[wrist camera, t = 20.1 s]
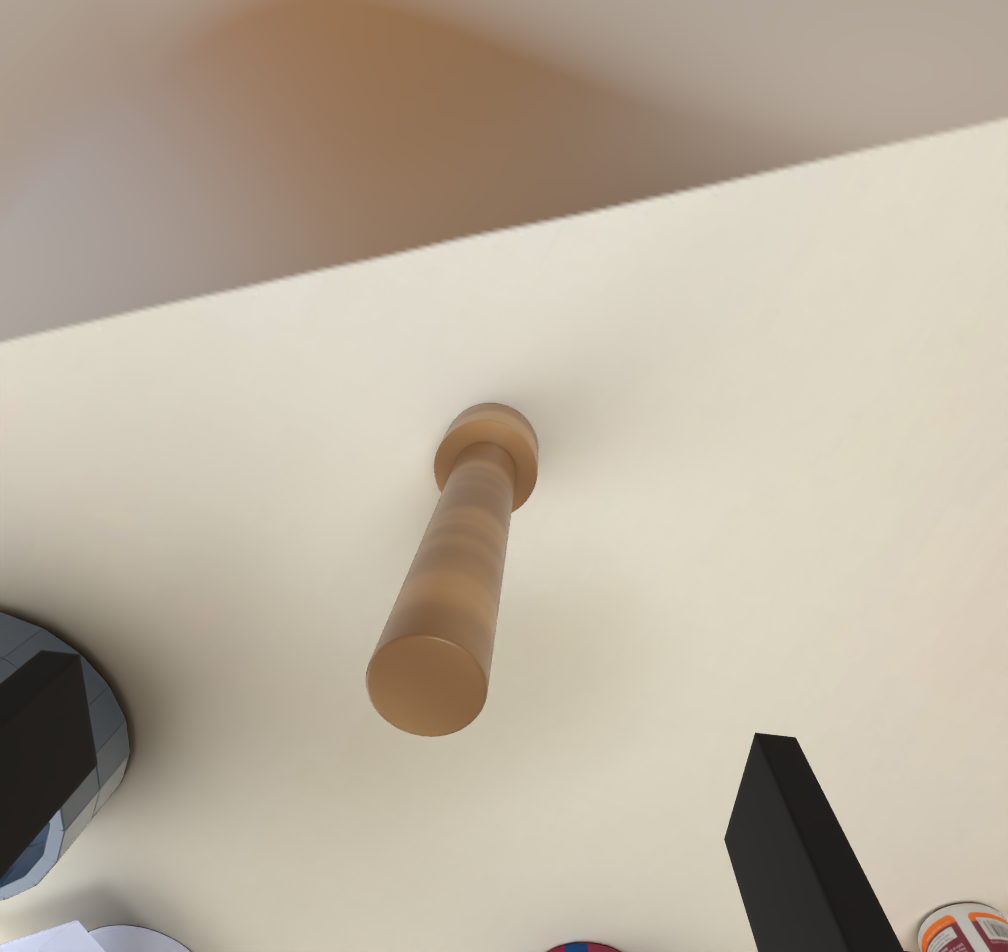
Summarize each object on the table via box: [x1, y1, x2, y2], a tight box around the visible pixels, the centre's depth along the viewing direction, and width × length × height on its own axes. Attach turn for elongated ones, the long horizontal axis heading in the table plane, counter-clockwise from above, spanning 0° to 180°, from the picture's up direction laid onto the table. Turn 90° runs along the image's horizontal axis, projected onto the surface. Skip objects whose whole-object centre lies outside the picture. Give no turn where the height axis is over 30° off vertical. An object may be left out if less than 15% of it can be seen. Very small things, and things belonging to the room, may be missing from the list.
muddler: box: [366, 403, 538, 737], centre depth 20 cm, size 4×4×16 cm
